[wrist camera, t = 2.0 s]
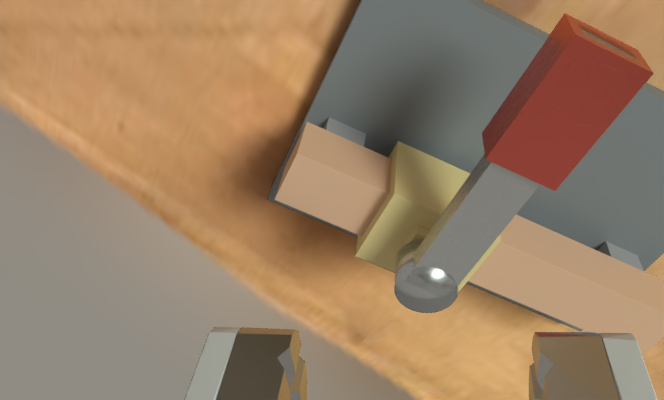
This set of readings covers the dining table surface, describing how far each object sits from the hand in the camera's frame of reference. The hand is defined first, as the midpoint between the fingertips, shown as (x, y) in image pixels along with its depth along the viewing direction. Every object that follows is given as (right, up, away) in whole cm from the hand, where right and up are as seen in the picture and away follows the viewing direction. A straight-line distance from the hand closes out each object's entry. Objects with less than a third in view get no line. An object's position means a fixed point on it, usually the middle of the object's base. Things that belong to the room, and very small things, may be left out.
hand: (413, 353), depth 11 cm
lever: (+5, +4, +14) cm, 15 cm away
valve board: (+7, +4, +22) cm, 24 cm away
